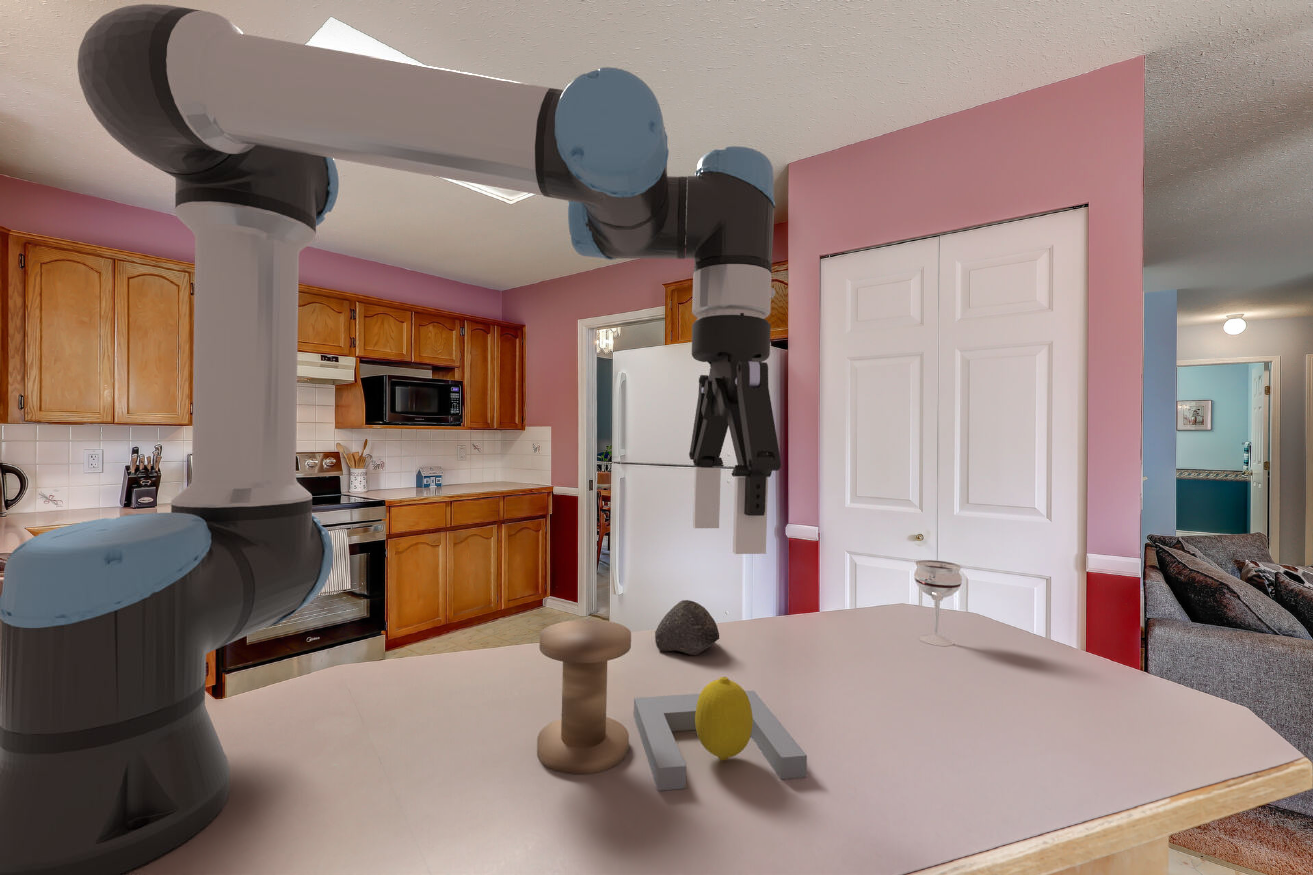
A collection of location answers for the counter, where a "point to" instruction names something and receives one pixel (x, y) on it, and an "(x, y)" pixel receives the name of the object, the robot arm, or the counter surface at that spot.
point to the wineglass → (937, 589)
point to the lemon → (723, 718)
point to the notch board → (679, 715)
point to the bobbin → (584, 697)
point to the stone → (686, 629)
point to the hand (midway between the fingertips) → (725, 539)
